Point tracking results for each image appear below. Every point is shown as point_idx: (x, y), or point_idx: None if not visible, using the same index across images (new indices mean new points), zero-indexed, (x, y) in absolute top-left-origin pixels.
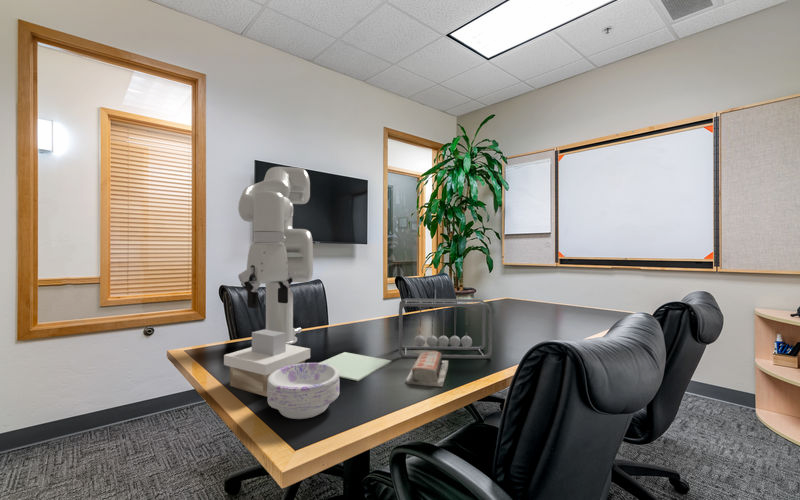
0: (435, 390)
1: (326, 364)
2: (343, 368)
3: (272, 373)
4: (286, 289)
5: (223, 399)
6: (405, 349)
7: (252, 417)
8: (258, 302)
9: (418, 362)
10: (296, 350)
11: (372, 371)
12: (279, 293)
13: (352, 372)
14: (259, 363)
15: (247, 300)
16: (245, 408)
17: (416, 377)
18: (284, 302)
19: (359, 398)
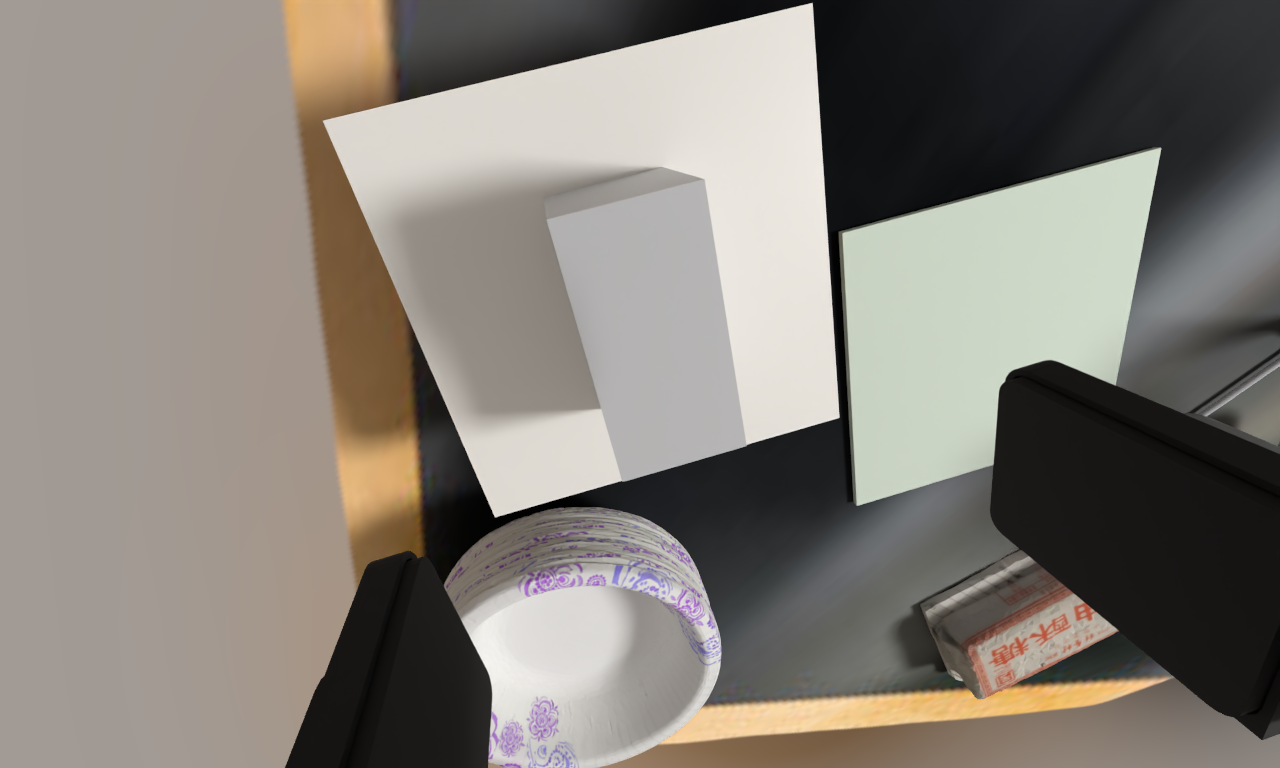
0: (914, 676)
1: (713, 648)
2: (930, 369)
3: (477, 613)
4: (1237, 719)
5: (345, 301)
6: (1274, 367)
7: (402, 528)
8: (487, 760)
9: (1030, 632)
10: (765, 396)
11: (957, 475)
12: (1159, 499)
13: (908, 434)
14: (477, 476)
15: (299, 732)
16: (404, 450)
17: (943, 644)
18: (997, 506)
19: (743, 606)
